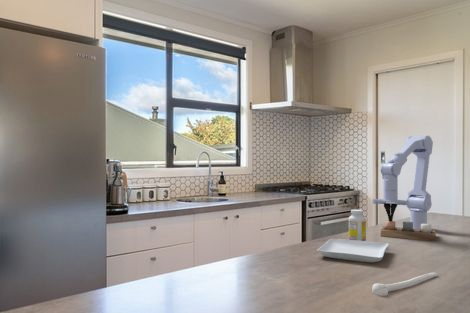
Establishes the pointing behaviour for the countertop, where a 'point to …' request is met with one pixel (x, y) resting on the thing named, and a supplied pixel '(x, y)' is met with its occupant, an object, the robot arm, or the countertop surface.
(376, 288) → the white long rod
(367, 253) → the salad plate
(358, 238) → the supplement bottle
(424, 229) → the white rounded cylinder
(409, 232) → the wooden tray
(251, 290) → the countertop surface
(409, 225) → the grey rounded piece
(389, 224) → the peach rounded cylinder
